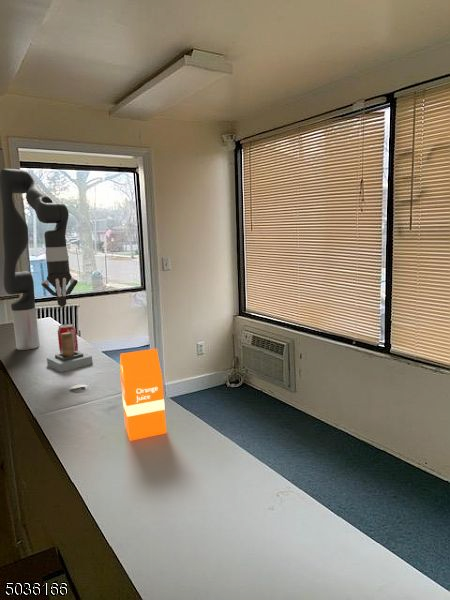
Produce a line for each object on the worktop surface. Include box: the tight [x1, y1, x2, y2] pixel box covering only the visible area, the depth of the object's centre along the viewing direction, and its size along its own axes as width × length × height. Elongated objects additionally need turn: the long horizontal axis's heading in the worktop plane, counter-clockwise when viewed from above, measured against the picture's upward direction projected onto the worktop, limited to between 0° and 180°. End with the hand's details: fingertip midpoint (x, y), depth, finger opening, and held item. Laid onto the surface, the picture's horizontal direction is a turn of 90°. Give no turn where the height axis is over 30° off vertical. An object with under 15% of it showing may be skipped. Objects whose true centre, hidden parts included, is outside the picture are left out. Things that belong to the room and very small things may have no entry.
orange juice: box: [119, 348, 167, 442], centre depth 103 cm, size 8×9×20 cm
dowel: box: [61, 332, 74, 357], centre depth 159 cm, size 4×4×12 cm
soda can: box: [57, 323, 79, 354], centre depth 173 cm, size 7×7×12 cm
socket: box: [46, 350, 93, 373], centre depth 160 cm, size 12×12×4 cm
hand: (62, 306), depth 158 cm, fingers closed
